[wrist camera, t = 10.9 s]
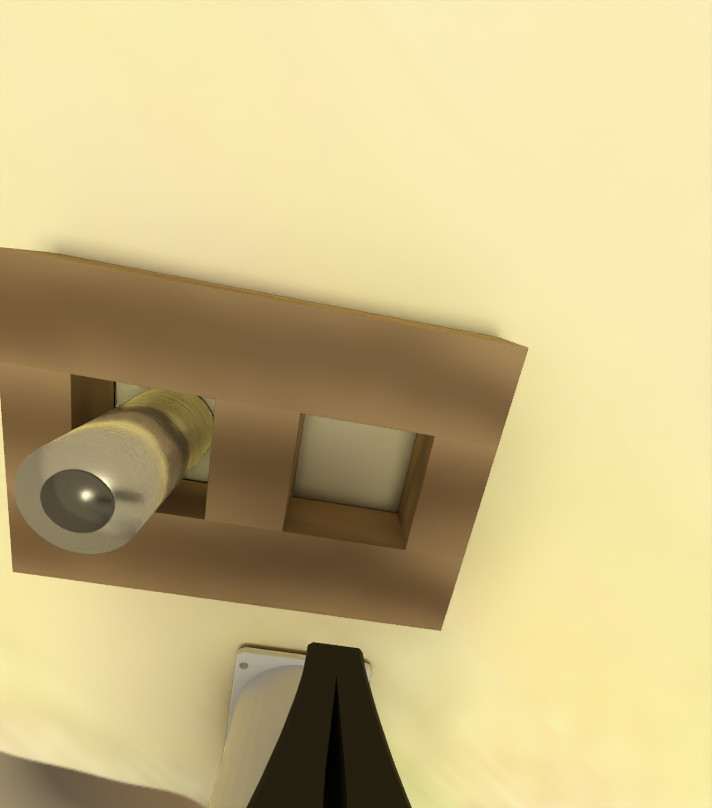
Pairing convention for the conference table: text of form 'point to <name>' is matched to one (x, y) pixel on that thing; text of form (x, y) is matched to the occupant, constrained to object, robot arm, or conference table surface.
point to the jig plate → (256, 434)
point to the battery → (112, 471)
